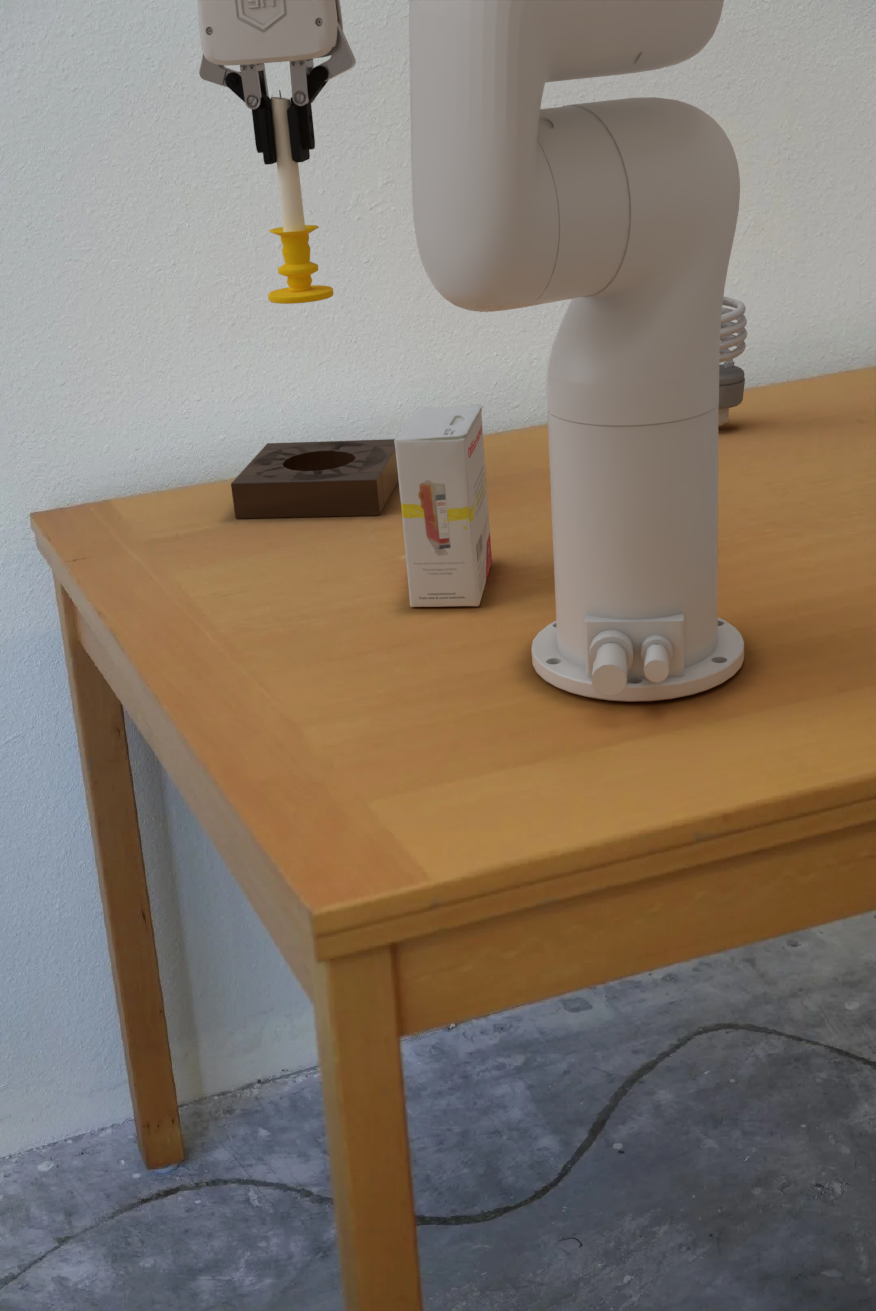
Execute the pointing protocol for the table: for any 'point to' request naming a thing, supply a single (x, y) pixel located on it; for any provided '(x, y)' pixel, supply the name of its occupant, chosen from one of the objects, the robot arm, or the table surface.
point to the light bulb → (731, 358)
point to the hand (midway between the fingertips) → (287, 159)
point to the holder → (317, 480)
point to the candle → (292, 221)
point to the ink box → (444, 506)
